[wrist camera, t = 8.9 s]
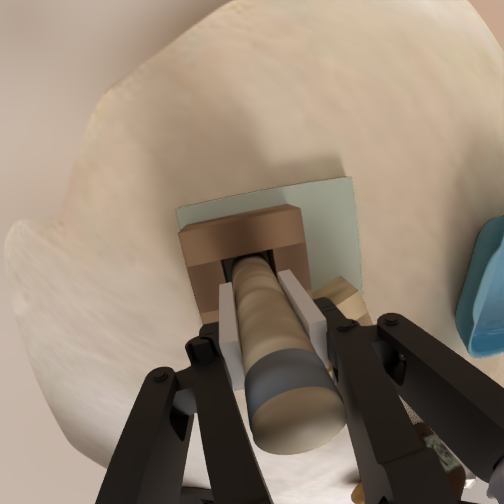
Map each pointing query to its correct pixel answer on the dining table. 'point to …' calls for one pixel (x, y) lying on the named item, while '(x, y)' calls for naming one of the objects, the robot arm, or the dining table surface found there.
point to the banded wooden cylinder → (281, 367)
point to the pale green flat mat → (314, 221)
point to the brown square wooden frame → (243, 250)
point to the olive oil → (443, 458)
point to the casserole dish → (484, 294)
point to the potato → (358, 494)
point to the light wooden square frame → (345, 302)
